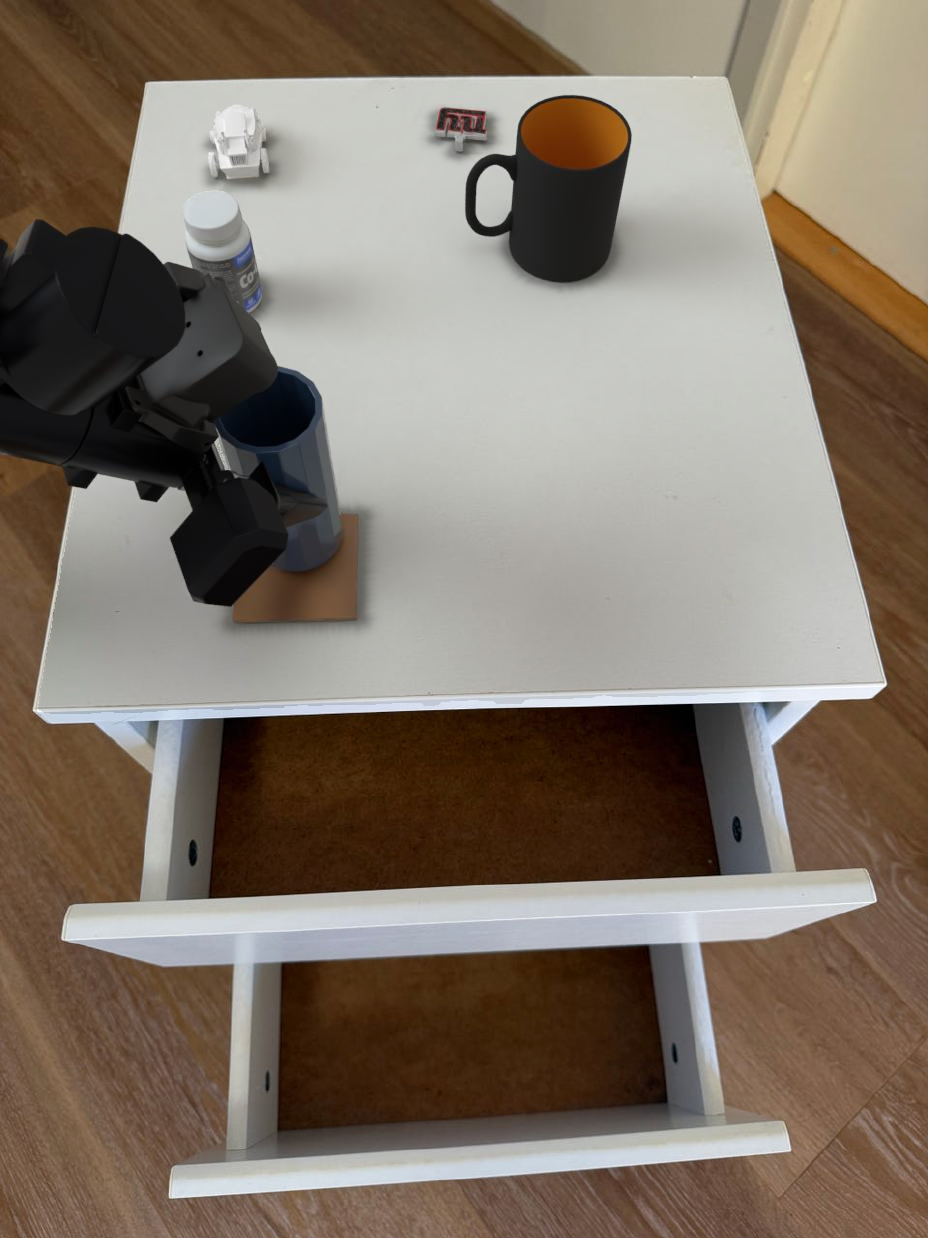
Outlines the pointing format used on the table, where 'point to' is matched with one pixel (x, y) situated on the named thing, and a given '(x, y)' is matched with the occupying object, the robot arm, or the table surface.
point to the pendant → (463, 119)
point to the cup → (288, 459)
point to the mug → (561, 187)
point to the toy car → (238, 143)
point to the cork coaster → (307, 588)
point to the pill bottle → (222, 244)
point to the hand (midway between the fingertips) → (305, 468)
